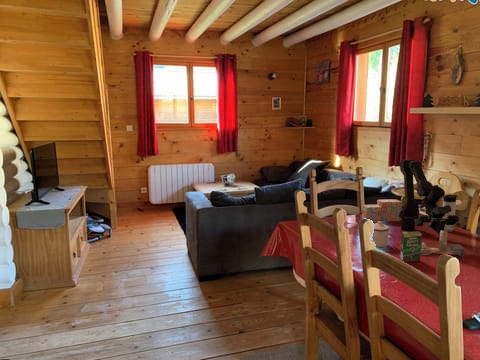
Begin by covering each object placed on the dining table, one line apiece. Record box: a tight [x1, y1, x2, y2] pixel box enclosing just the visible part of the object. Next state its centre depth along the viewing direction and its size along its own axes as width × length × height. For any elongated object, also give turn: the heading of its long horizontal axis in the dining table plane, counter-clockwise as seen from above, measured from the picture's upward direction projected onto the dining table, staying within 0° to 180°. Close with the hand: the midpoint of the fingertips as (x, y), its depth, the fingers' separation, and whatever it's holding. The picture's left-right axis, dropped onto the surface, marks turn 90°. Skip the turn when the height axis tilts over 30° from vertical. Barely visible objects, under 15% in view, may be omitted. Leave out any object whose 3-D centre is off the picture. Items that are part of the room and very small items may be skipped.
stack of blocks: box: [361, 198, 402, 223], centre depth 221 cm, size 21×6×12 cm, turn 94°
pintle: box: [420, 241, 432, 256], centre depth 170 cm, size 6×6×5 cm
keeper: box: [446, 243, 466, 259], centre depth 167 cm, size 5×6×4 cm
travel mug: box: [442, 194, 458, 233], centre depth 200 cm, size 6×7×20 cm
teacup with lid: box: [372, 221, 390, 248], centre depth 182 cm, size 12×9×12 cm
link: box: [421, 230, 457, 255], centre depth 168 cm, size 16×5×10 cm, turn 76°
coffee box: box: [399, 231, 423, 263], centre depth 161 cm, size 8×3×13 cm, turn 90°
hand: (443, 236), depth 169 cm, fingers closed
